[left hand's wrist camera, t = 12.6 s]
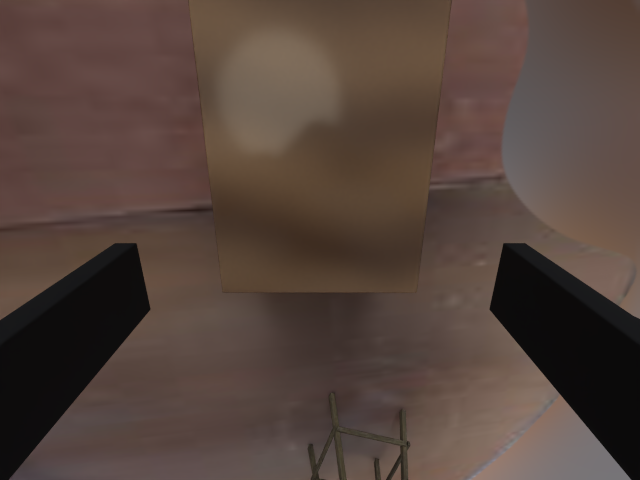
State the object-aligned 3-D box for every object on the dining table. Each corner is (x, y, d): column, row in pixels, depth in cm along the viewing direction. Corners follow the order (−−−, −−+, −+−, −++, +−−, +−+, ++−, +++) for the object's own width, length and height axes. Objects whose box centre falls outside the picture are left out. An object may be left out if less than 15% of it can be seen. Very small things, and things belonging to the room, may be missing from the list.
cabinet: (230, -59, 21) (166, -178, 12) (409, -59, 21) (473, -177, 12) (252, 234, 28) (222, 292, 20) (386, 234, 28) (416, 293, 20)
